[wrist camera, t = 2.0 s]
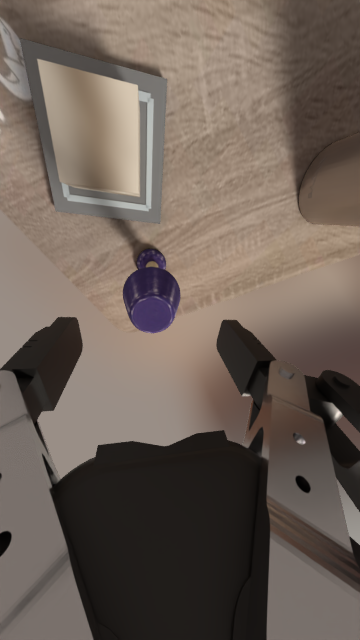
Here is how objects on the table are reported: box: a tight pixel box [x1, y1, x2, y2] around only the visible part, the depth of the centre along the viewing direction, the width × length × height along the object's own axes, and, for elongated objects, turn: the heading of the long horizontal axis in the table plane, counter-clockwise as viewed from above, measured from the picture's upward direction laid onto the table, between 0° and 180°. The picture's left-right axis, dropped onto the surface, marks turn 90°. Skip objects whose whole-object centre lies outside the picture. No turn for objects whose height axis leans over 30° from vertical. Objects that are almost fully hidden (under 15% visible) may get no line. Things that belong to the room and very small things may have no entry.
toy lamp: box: [123, 249, 180, 333], centre depth 18 cm, size 5×5×17 cm
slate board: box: [20, 38, 167, 224], centre depth 19 cm, size 12×12×1 cm
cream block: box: [37, 59, 140, 197], centre depth 16 cm, size 7×7×4 cm
